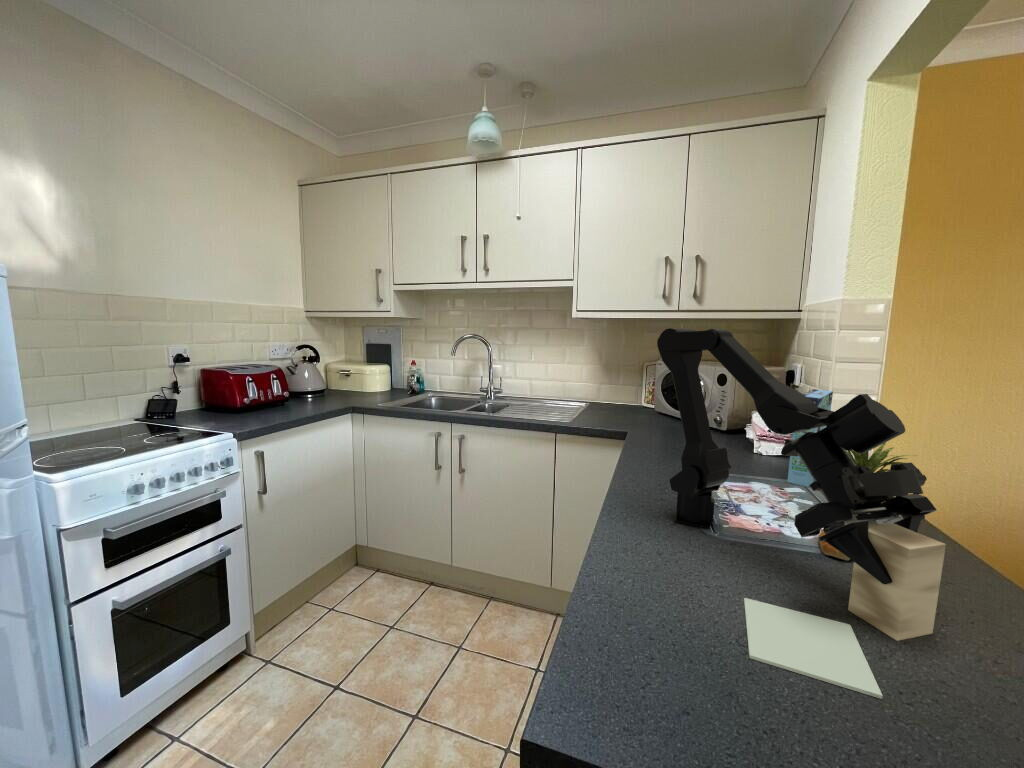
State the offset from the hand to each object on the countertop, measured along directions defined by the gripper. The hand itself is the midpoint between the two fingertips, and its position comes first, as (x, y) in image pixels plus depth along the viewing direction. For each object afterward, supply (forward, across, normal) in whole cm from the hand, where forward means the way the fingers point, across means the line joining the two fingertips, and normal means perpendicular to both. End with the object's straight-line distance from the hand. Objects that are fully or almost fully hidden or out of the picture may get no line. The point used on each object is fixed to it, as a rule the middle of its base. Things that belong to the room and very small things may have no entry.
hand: (907, 580), depth 53 cm
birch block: (+4, 0, +6) cm, 7 cm away
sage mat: (+4, -15, +5) cm, 16 cm away
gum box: (-31, +42, +41) cm, 66 cm away
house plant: (-15, +32, +25) cm, 43 cm away
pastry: (-8, +13, +18) cm, 23 cm away
